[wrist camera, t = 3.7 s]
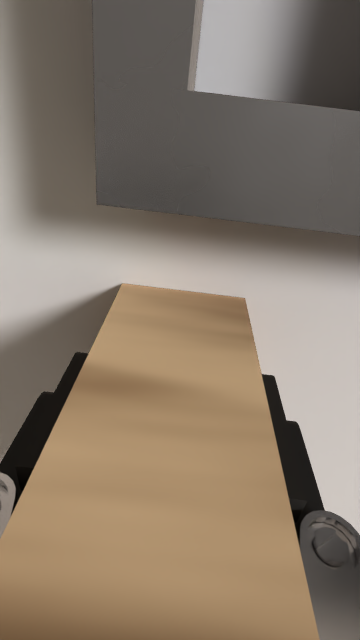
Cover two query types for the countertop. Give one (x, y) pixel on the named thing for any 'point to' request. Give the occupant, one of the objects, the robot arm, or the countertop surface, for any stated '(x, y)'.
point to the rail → (210, 132)
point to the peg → (159, 490)
